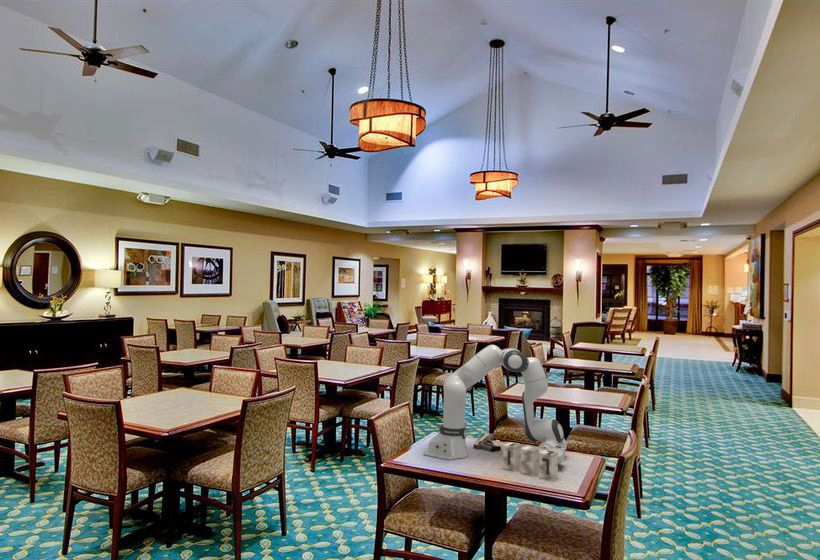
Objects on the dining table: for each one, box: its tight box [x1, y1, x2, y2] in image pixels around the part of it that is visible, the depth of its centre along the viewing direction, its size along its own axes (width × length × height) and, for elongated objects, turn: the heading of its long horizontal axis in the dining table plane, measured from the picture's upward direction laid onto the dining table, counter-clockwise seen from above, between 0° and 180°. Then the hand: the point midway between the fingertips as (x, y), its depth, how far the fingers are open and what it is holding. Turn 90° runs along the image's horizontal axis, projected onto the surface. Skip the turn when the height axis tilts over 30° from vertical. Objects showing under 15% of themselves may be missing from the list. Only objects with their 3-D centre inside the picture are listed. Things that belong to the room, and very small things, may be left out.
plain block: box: [520, 445, 539, 477], centre depth 235 cm, size 6×6×11 cm
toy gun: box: [472, 433, 502, 453], centre depth 280 cm, size 3×29×15 cm
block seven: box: [538, 450, 559, 482], centre depth 229 cm, size 6×6×11 cm
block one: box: [502, 441, 522, 472], centre depth 241 cm, size 6×6×11 cm
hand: (534, 458), depth 239 cm, fingers closed
